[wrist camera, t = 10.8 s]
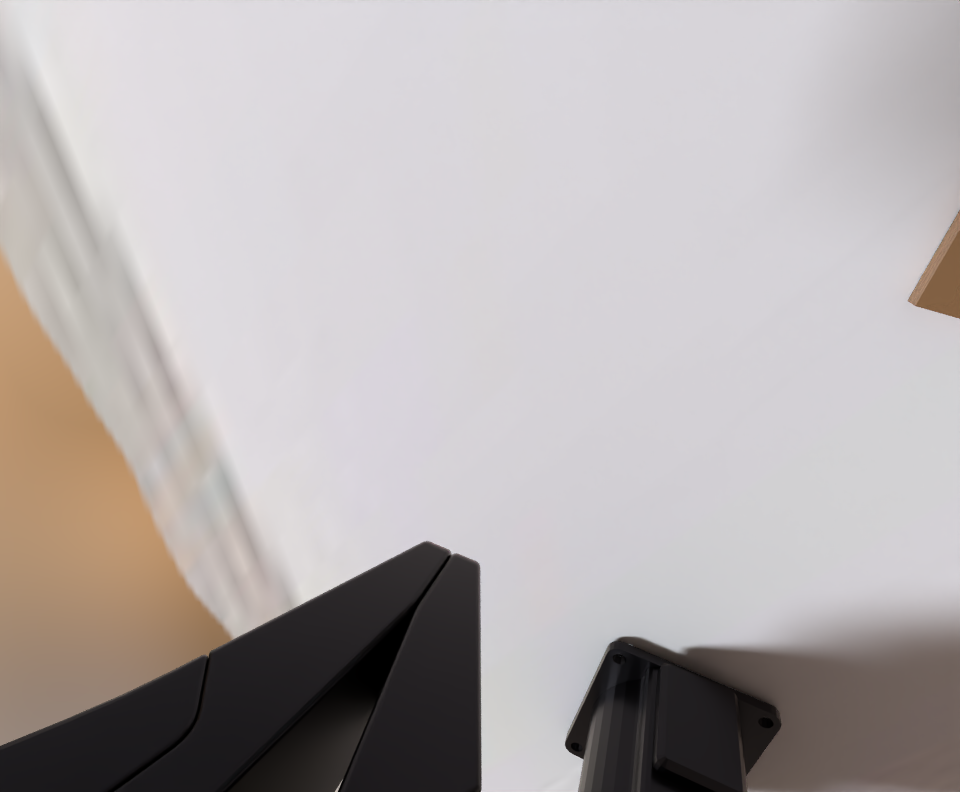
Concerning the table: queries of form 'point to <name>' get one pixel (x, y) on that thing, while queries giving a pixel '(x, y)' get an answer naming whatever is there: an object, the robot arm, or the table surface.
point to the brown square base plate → (942, 277)
